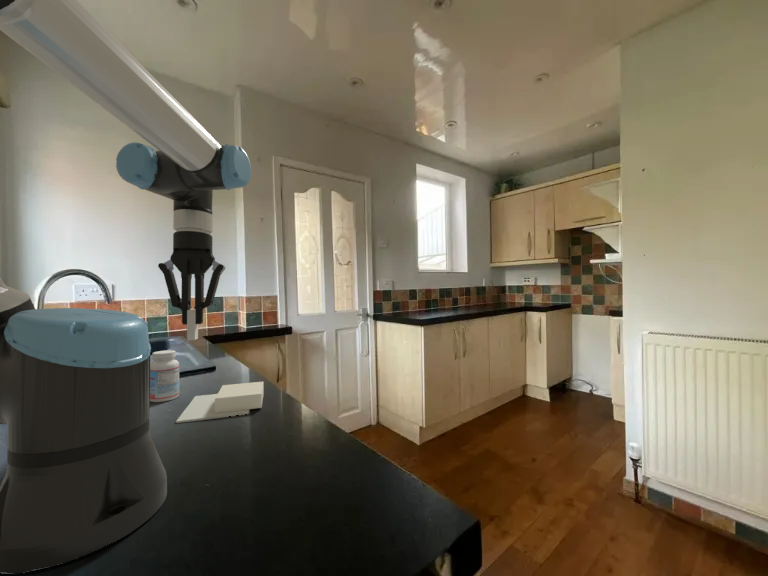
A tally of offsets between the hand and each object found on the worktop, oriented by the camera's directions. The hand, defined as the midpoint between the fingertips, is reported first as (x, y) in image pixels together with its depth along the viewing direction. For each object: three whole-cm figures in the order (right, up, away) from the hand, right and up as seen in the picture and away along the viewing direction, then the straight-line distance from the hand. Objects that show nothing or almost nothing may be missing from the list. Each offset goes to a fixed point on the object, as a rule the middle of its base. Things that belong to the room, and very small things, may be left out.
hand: (192, 339), depth 71 cm
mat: (+5, -15, +1) cm, 16 cm away
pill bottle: (-11, -16, +6) cm, 20 cm away
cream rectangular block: (+6, -13, 0) cm, 14 cm away
